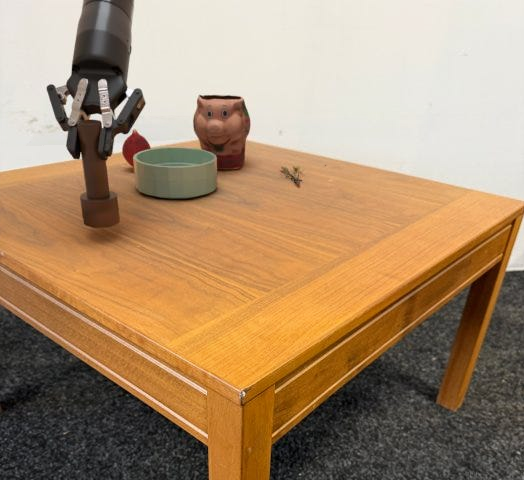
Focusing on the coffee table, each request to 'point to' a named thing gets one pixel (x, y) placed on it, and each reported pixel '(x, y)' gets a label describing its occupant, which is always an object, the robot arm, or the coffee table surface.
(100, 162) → the pestle
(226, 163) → the decorative planter
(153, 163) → the bowl
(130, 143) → the onion
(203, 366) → the coffee table surface
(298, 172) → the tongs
